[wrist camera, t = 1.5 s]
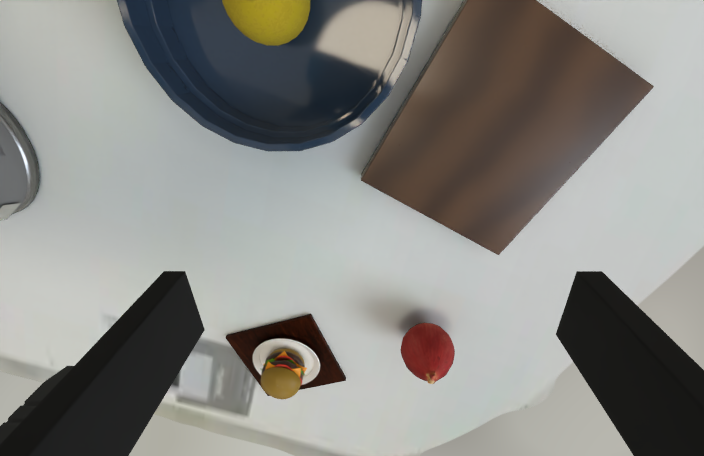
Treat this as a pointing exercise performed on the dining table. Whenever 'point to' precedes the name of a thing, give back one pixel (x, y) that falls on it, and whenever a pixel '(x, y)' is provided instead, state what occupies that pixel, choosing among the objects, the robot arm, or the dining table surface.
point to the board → (501, 119)
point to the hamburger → (287, 356)
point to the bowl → (275, 67)
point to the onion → (427, 352)
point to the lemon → (269, 19)
